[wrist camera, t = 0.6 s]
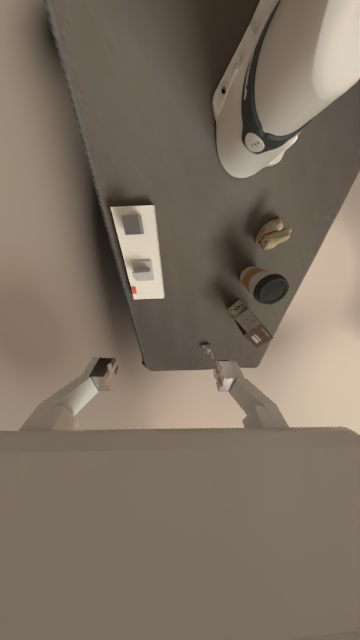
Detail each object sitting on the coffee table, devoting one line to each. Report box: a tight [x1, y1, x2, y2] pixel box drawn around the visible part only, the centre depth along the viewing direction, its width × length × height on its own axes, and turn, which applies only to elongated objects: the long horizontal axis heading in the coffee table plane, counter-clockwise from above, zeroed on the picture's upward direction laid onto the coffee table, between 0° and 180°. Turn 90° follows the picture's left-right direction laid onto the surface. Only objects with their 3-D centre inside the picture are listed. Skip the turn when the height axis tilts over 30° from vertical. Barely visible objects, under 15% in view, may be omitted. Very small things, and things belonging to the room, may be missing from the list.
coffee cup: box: [240, 266, 289, 304], centre depth 41 cm, size 8×8×15 cm
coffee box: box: [228, 300, 273, 347], centre depth 49 cm, size 9×6×16 cm
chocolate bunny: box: [255, 218, 292, 250], centre depth 36 cm, size 6×8×10 cm
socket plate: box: [110, 205, 164, 299], centre depth 42 cm, size 26×11×3 cm, turn 2°
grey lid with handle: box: [132, 260, 154, 281], centre depth 41 cm, size 6×6×4 cm
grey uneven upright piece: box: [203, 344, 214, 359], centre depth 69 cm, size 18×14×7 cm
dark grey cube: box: [121, 214, 144, 235], centre depth 34 cm, size 4×4×4 cm
